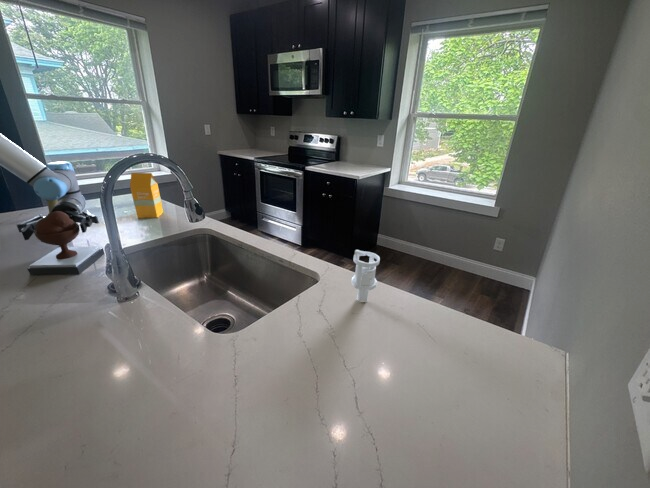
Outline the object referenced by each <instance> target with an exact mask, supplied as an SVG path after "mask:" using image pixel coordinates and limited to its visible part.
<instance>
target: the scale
mask: <svg viewBox="0 0 650 488" xmlns="http://www.w3.org/2000/svg"><path fill="white" fill-rule="evenodd" d="M67 247H68V250H74V251H76V252H77V255H75V256H74V257H71V258H67V259H57V258H56V255H57V254H59V253H60V252H61V251H62V250H61V247H60V246H58V247H57V248H55V249H54V250H51V251H50V252H48V253H47V254H45V255H44V256H42V257H41V258H39V259H37V260H36V261H34V262H32V263H31V264H30V265H29V267H27V272H28V273H29V276H60V275H62V276H63V275H64V276H65V275H81V274H82V273H83V272H84V271H86V270H87V269H88V268H90V266H92V265H93V264H94V263H96V262H97V261H98V260H99V259H100V258H102V257H103V256H105V254H106V253H105V250H104V247H101V246H67Z"/></svg>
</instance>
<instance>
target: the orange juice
mask: <svg viewBox="0 0 650 488" xmlns="http://www.w3.org/2000/svg"><path fill="white" fill-rule="evenodd" d="M130 174H131V175H130V185H129V188H130V192H131V196H132V200H133V205H134V209H135V212H136V217H137V218H138V219H157V218H159V217H160V216H161V215H162V214H163V213H164V209H163V202H162V198H161V193H160V189H159V184H158V182H157V181H156V178H155V177H154V175H153V173H152V172H130Z"/></svg>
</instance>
